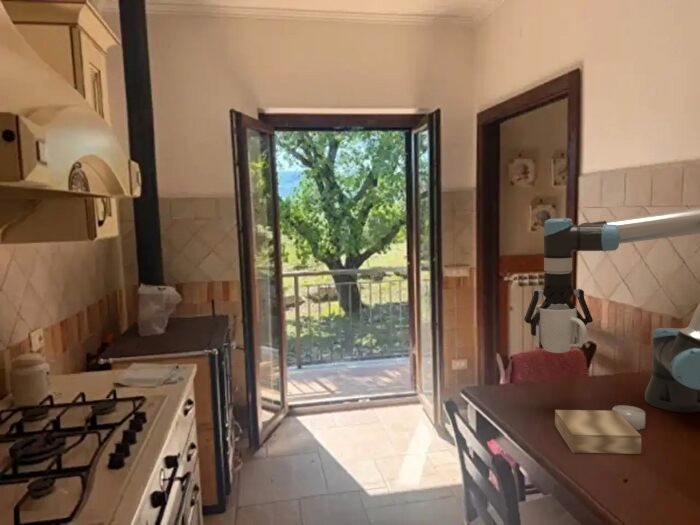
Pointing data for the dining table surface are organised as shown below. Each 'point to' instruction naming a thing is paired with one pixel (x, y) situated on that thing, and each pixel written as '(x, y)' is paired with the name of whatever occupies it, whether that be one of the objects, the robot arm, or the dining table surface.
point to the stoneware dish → (632, 415)
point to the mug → (559, 328)
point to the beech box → (597, 432)
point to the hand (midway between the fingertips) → (557, 346)
